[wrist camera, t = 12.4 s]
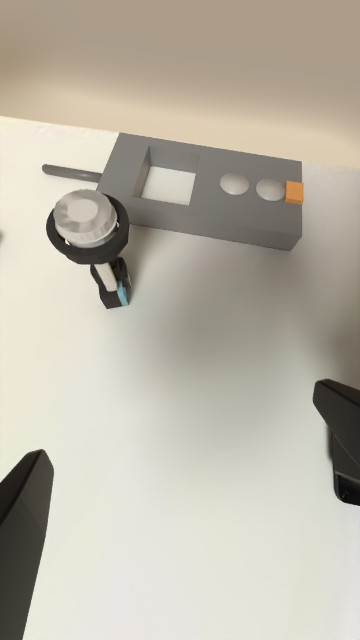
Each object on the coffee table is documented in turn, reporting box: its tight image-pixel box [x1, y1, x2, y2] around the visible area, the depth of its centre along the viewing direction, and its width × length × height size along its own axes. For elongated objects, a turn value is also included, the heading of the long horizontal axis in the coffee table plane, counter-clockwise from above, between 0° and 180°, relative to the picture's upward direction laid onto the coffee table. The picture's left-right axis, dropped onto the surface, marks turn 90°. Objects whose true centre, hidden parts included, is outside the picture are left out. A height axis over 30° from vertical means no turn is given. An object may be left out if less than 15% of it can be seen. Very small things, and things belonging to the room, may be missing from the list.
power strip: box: [42, 133, 303, 251], centre depth 27 cm, size 30×11×3 cm, turn 80°
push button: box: [46, 189, 132, 309], centre depth 20 cm, size 7×5×10 cm
